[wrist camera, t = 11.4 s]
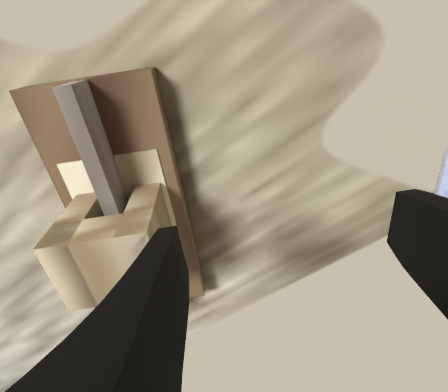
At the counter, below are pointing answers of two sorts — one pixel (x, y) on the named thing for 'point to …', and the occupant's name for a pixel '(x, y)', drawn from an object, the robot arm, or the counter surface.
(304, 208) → the counter surface
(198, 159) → the counter surface
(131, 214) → the clip
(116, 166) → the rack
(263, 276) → the counter surface
